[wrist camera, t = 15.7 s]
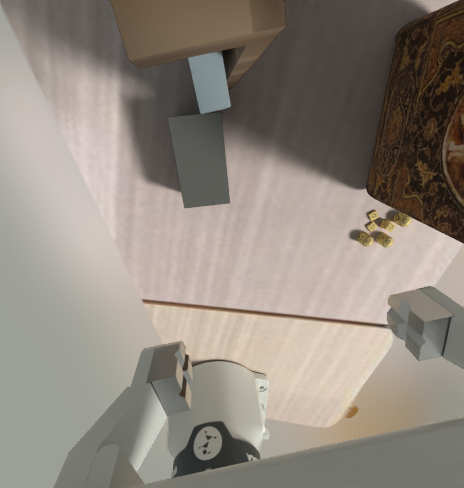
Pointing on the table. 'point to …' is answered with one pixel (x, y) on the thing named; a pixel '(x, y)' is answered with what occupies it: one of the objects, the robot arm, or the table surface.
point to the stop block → (200, 159)
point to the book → (424, 124)
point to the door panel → (210, 82)
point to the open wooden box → (199, 30)
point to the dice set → (386, 224)
